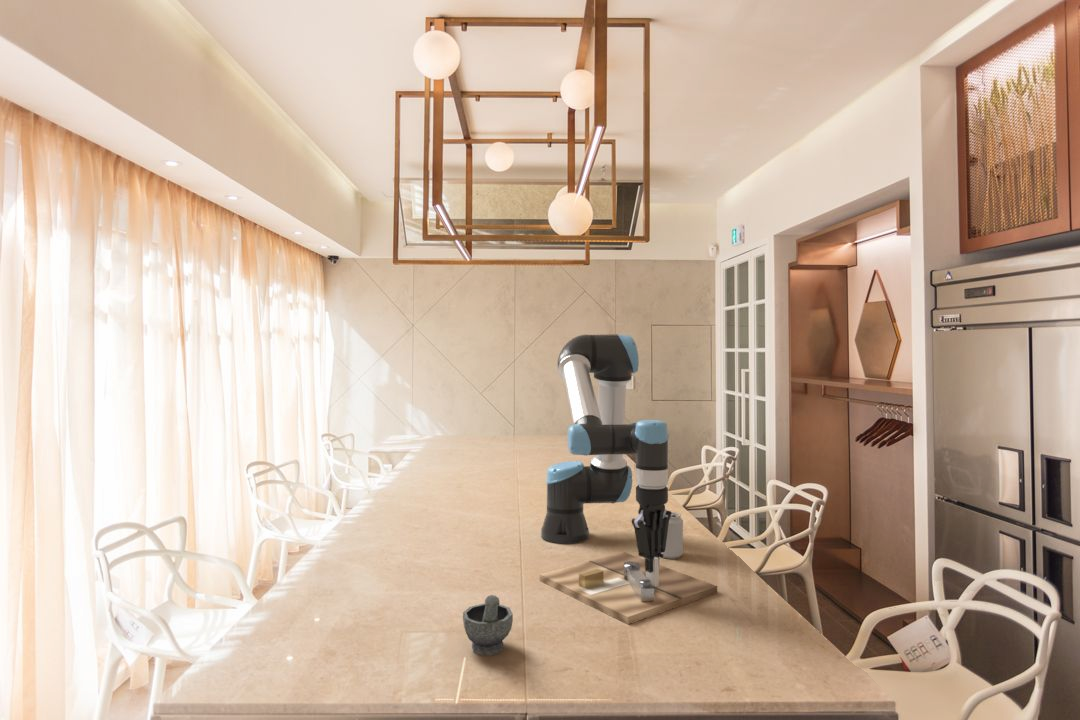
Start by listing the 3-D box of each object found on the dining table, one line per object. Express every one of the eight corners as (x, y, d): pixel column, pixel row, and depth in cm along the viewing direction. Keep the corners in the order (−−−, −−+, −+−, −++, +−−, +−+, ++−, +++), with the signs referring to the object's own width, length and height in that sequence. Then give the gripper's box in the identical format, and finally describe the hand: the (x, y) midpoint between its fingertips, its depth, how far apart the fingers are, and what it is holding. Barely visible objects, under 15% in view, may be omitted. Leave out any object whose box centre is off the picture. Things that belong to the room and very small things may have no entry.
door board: (539, 580, 158) (539, 562, 158) (624, 557, 176) (624, 541, 176) (627, 624, 132) (627, 603, 132) (717, 592, 150) (717, 573, 150)
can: (683, 560, 174) (683, 517, 174) (656, 558, 175) (656, 516, 175) (682, 552, 181) (682, 511, 181) (656, 550, 183) (656, 510, 182)
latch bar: (622, 575, 157) (622, 560, 157) (637, 574, 157) (637, 559, 157) (639, 601, 140) (639, 584, 140) (656, 601, 141) (656, 584, 140)
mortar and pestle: (460, 639, 125) (460, 580, 125) (506, 634, 128) (506, 576, 128) (468, 666, 114) (468, 602, 114) (517, 660, 117) (518, 597, 117)
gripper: (655, 479, 154) (655, 573, 154) (622, 487, 145) (622, 587, 146) (680, 483, 149) (681, 581, 149) (648, 492, 140) (648, 596, 140)
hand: (652, 584), depth 147 cm, fingers closed
